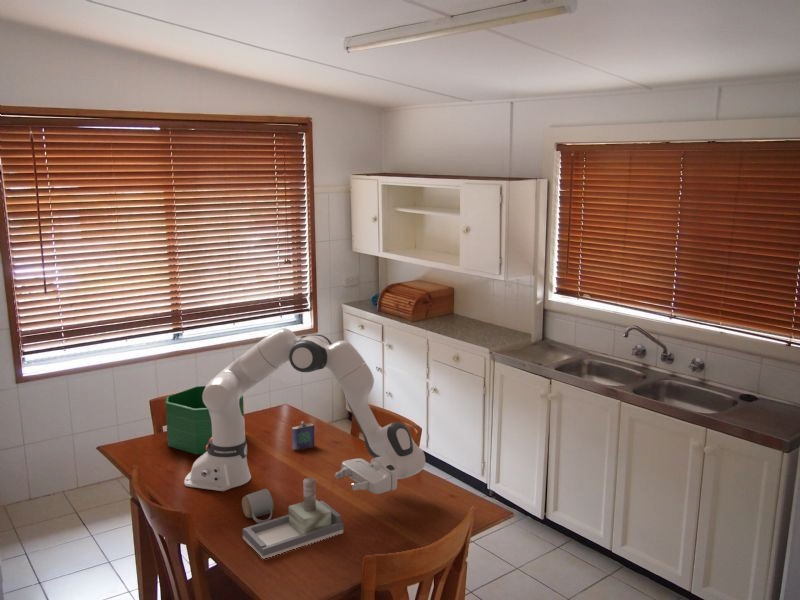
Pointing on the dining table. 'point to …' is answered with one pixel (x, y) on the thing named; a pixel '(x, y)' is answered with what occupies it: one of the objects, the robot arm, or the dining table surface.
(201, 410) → the planter
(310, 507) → the block with upright post
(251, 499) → the ceramic mug
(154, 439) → the dining table surface
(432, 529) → the dining table surface
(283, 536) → the tray
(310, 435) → the flask
